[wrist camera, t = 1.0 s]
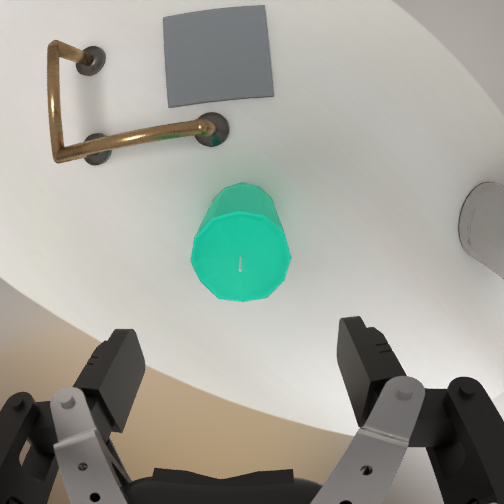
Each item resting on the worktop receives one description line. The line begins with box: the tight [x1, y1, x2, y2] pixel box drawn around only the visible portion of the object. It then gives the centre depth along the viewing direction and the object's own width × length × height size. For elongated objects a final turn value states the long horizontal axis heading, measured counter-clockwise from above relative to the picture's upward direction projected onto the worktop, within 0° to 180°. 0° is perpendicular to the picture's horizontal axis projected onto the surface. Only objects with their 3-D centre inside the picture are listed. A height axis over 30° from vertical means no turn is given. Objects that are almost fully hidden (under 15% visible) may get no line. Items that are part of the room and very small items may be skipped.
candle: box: [191, 183, 291, 302], centre depth 23 cm, size 6×6×12 cm
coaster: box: [163, 5, 274, 108], centre depth 23 cm, size 9×9×1 cm
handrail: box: [47, 40, 229, 165], centre depth 20 cm, size 14×12×8 cm
